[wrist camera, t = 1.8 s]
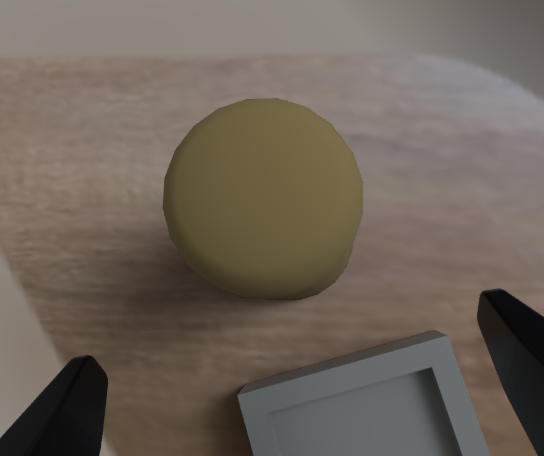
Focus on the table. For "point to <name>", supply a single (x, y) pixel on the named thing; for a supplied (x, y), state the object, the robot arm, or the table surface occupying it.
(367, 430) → the gray tray
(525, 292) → the table surface
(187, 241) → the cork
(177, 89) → the table surface
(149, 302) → the table surface
